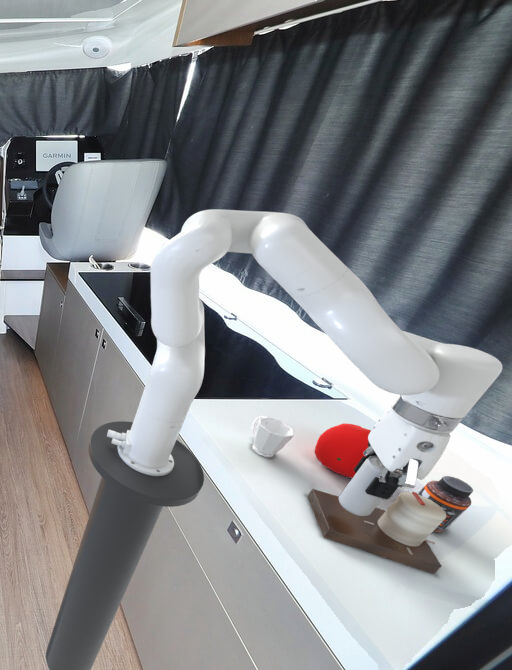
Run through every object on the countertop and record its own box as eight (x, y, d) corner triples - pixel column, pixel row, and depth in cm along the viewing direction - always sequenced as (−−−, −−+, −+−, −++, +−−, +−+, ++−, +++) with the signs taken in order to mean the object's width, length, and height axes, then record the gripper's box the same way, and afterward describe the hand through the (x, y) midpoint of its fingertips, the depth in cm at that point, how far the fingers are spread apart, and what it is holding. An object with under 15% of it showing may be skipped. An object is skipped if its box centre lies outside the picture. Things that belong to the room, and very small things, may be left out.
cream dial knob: (428, 551, 78) (456, 523, 74) (386, 539, 80) (411, 511, 76) (410, 525, 83) (435, 497, 79) (371, 514, 85) (393, 486, 81)
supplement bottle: (403, 520, 87) (436, 483, 82) (402, 503, 91) (433, 466, 85) (446, 539, 83) (483, 501, 78) (443, 520, 87) (478, 483, 82)
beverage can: (370, 507, 84) (403, 465, 78) (369, 522, 81) (404, 479, 75) (337, 493, 87) (368, 451, 81) (335, 507, 84) (367, 464, 78)
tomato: (322, 488, 98) (365, 479, 100) (383, 480, 87) (430, 471, 89) (291, 434, 103) (333, 427, 106) (344, 420, 92) (389, 413, 95)
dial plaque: (323, 537, 83) (329, 529, 82) (307, 496, 92) (312, 488, 91) (442, 577, 77) (451, 568, 75) (412, 528, 85) (420, 520, 84)
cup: (254, 459, 101) (267, 434, 98) (234, 430, 110) (246, 407, 106) (286, 463, 100) (301, 439, 96) (264, 434, 109) (277, 410, 105)
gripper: (487, 452, 64) (418, 528, 72) (429, 391, 77) (376, 461, 86) (420, 436, 67) (361, 511, 75) (375, 380, 80) (329, 449, 89)
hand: (370, 484), depth 81 cm, fingers closed on beverage can, 4 cm apart
